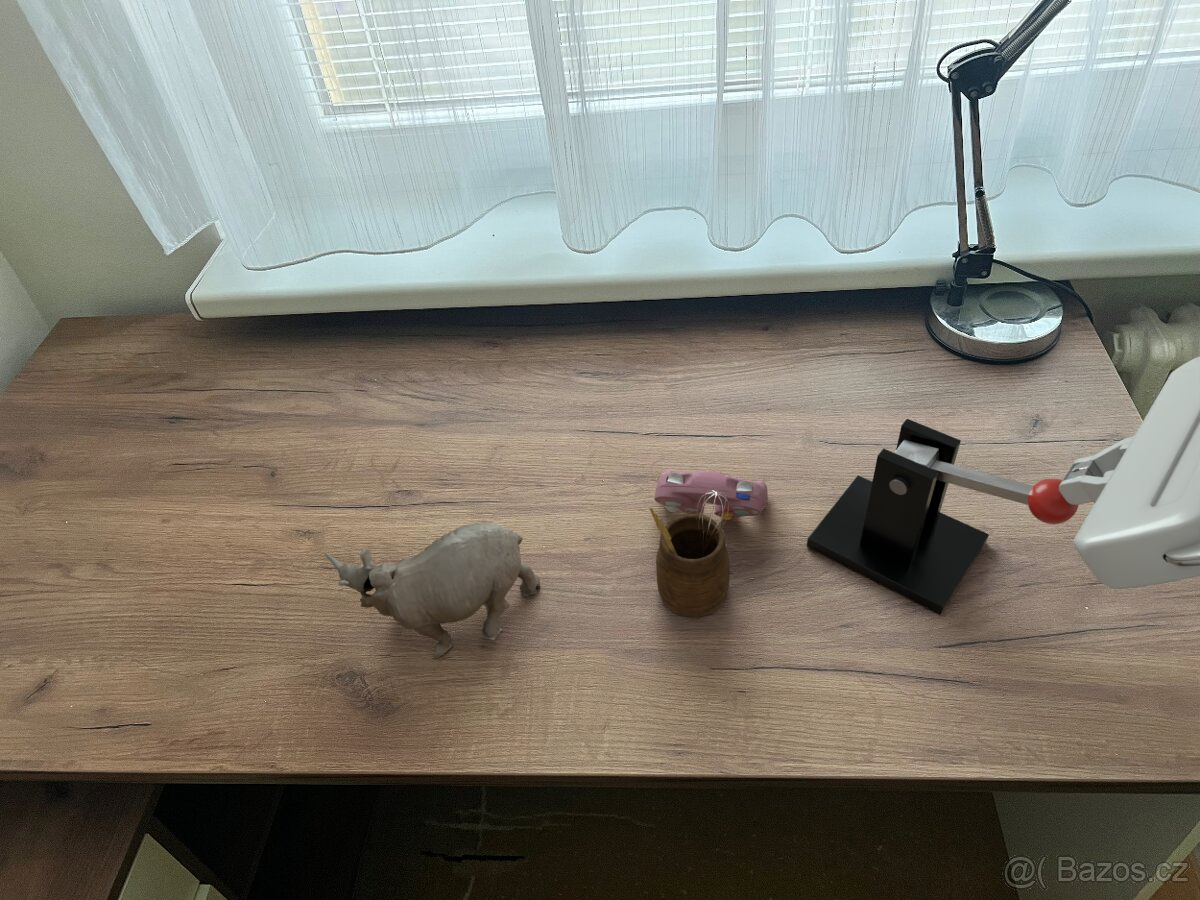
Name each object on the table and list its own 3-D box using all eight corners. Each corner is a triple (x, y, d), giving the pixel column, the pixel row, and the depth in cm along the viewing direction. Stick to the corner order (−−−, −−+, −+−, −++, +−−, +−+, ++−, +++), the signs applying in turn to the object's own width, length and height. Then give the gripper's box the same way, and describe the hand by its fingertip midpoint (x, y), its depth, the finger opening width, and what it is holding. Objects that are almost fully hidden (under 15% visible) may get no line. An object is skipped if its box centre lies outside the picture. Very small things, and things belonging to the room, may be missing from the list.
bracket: (986, 543, 74) (1021, 444, 66) (940, 615, 69) (972, 519, 61) (856, 483, 80) (873, 386, 72) (806, 547, 75) (819, 450, 67)
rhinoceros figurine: (575, 626, 68) (430, 532, 61) (454, 705, 73) (306, 627, 66) (568, 554, 75) (436, 460, 67) (457, 631, 79) (322, 552, 72)
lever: (1083, 510, 62) (1087, 476, 60) (1067, 539, 61) (1071, 505, 59) (907, 462, 70) (906, 431, 68) (889, 487, 69) (887, 455, 67)
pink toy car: (656, 520, 81) (646, 501, 74) (663, 473, 82) (654, 450, 76) (764, 534, 79) (764, 515, 72) (770, 485, 80) (770, 463, 73)
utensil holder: (743, 598, 72) (749, 502, 64) (679, 634, 70) (676, 539, 62) (702, 551, 76) (703, 454, 67) (641, 583, 74) (633, 488, 66)
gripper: (1284, 606, 44) (1036, 619, 56) (1367, 383, 54) (1142, 435, 66) (1220, 508, 43) (981, 543, 55) (1317, 301, 53) (1098, 368, 65)
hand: (1070, 482), depth 60 cm, fingers closed
